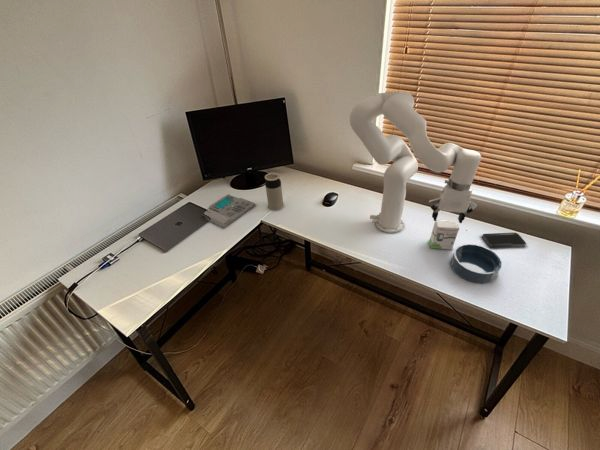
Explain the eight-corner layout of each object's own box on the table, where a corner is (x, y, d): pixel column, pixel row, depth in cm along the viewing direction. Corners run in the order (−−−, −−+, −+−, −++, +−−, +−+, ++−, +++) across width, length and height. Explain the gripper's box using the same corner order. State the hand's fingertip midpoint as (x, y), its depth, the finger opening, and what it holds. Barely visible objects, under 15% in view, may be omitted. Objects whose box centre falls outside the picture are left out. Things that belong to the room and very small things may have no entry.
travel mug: (283, 210, 158) (279, 179, 146) (267, 210, 158) (263, 180, 147) (283, 201, 164) (280, 171, 153) (269, 202, 164) (264, 172, 153)
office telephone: (223, 224, 147) (196, 212, 156) (224, 229, 148) (197, 216, 158) (255, 201, 161) (228, 190, 170) (255, 205, 163) (229, 194, 172)
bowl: (454, 281, 115) (458, 271, 111) (447, 252, 127) (450, 242, 124) (502, 286, 112) (507, 276, 108) (489, 255, 124) (494, 245, 121)
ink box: (430, 248, 129) (436, 226, 122) (429, 240, 133) (435, 219, 126) (452, 250, 128) (459, 228, 121) (450, 242, 132) (457, 220, 124)
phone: (481, 233, 133) (516, 232, 132) (481, 235, 133) (515, 234, 133) (490, 246, 127) (527, 244, 126) (489, 248, 127) (526, 246, 127)
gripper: (436, 187, 110) (425, 223, 121) (488, 191, 107) (472, 227, 118) (433, 176, 116) (423, 212, 127) (482, 180, 113) (467, 216, 124)
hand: (446, 219), depth 122 cm, fingers open, 9 cm apart
